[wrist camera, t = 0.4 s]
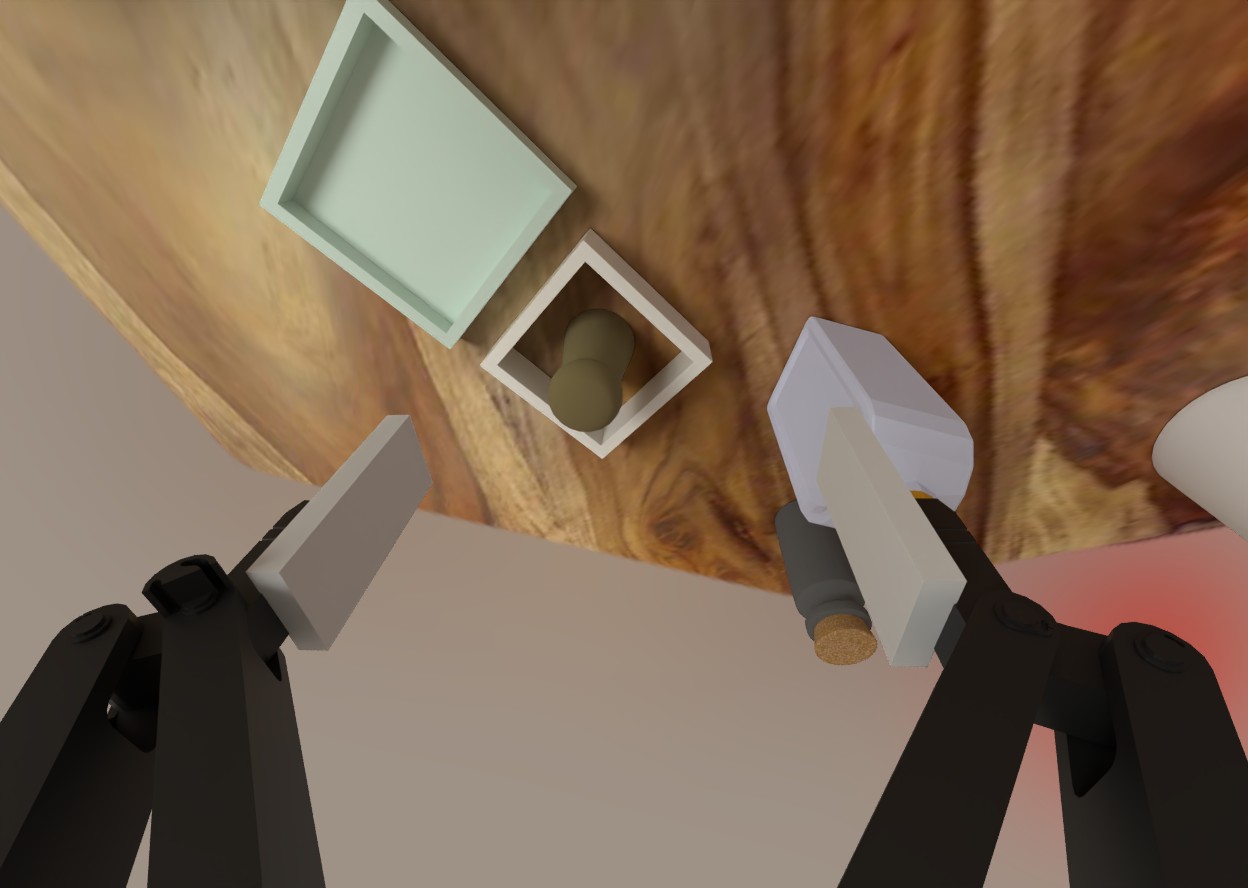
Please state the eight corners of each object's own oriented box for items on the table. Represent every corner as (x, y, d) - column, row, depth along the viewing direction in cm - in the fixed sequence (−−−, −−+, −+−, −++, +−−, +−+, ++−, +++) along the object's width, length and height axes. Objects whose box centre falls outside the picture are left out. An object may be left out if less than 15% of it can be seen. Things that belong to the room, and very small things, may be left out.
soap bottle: (800, 310, 40) (922, 496, 21) (881, 332, 41) (1070, 532, 22) (757, 405, 45) (824, 623, 26) (830, 423, 46) (947, 650, 27)
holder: (493, 345, 44) (479, 365, 40) (590, 227, 38) (583, 240, 34) (606, 434, 48) (602, 459, 45) (708, 341, 42) (712, 361, 39)
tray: (279, 199, 38) (258, 204, 36) (375, -13, 31) (355, -21, 29) (460, 338, 43) (450, 349, 41) (577, 186, 36) (572, 191, 34)
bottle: (785, 493, 51) (825, 620, 38) (841, 503, 51) (899, 633, 38) (766, 534, 54) (796, 663, 41) (818, 543, 54) (865, 675, 42)
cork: (615, 386, 45) (603, 458, 36) (553, 356, 44) (524, 423, 35) (647, 329, 42) (643, 392, 33) (581, 295, 41) (557, 351, 32)
